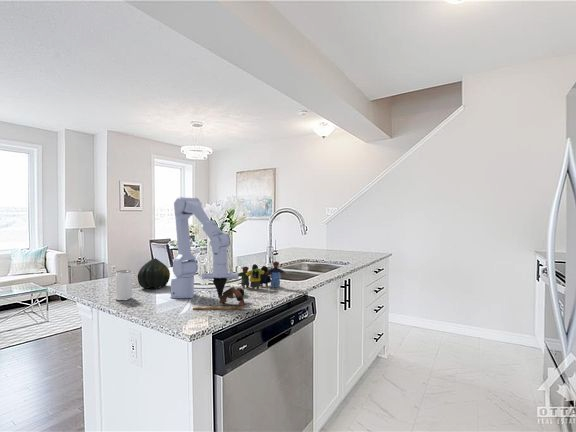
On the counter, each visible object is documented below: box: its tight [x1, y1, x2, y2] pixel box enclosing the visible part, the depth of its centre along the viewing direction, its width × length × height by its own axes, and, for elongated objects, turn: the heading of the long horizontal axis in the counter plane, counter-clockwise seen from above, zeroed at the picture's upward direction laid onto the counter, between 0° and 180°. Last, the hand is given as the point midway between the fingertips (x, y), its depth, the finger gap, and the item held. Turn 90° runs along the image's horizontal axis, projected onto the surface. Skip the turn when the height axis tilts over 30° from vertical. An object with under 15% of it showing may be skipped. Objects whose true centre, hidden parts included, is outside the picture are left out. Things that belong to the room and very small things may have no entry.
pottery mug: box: [218, 287, 246, 307], centre depth 132 cm, size 12×10×8 cm
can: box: [114, 269, 133, 301], centre depth 141 cm, size 6×6×12 cm
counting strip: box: [192, 305, 244, 311], centre depth 126 cm, size 19×2×1 cm, turn 90°
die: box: [229, 283, 242, 298], centre depth 146 cm, size 5×5×5 cm
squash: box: [137, 257, 171, 290], centre depth 163 cm, size 14×15×15 cm
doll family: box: [237, 261, 287, 290], centre depth 161 cm, size 23×9×13 cm, turn 118°
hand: (220, 296), depth 134 cm, fingers closed
